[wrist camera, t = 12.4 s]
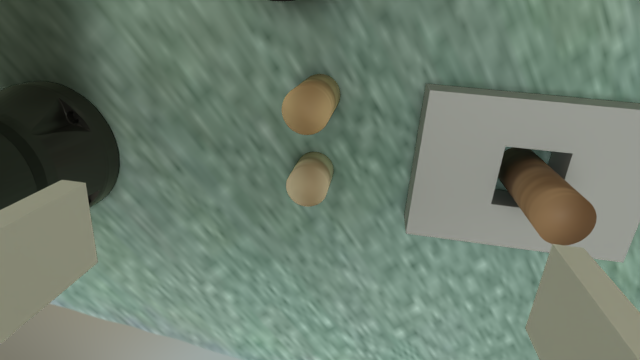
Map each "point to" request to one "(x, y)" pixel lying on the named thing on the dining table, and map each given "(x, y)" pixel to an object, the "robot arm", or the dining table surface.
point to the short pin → (310, 179)
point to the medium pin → (311, 104)
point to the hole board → (530, 133)
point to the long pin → (546, 198)
